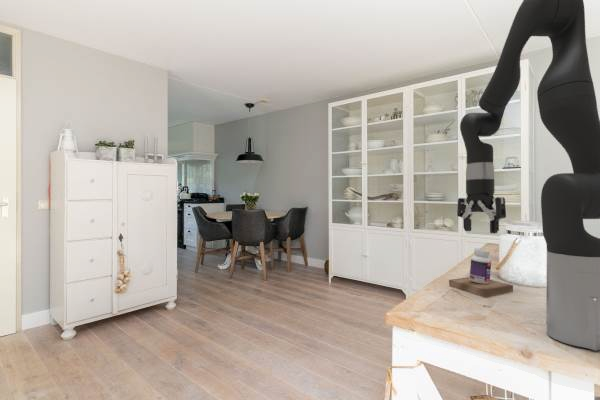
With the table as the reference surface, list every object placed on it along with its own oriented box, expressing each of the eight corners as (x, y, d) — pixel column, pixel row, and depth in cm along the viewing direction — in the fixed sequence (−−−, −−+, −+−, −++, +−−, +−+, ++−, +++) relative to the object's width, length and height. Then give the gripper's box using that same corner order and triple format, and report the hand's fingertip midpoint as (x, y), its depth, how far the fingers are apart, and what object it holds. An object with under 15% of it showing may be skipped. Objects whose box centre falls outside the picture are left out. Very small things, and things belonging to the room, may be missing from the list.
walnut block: (513, 295, 93) (513, 285, 93) (485, 300, 88) (485, 289, 88) (475, 285, 104) (475, 276, 104) (449, 289, 99) (449, 279, 99)
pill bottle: (490, 285, 92) (492, 252, 92) (469, 282, 95) (471, 250, 94) (489, 280, 97) (491, 249, 96) (469, 277, 100) (471, 247, 99)
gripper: (511, 177, 91) (512, 233, 90) (468, 180, 104) (468, 229, 104) (493, 176, 88) (494, 234, 88) (451, 179, 101) (451, 230, 101)
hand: (480, 232), depth 96 cm, fingers open, 8 cm apart
